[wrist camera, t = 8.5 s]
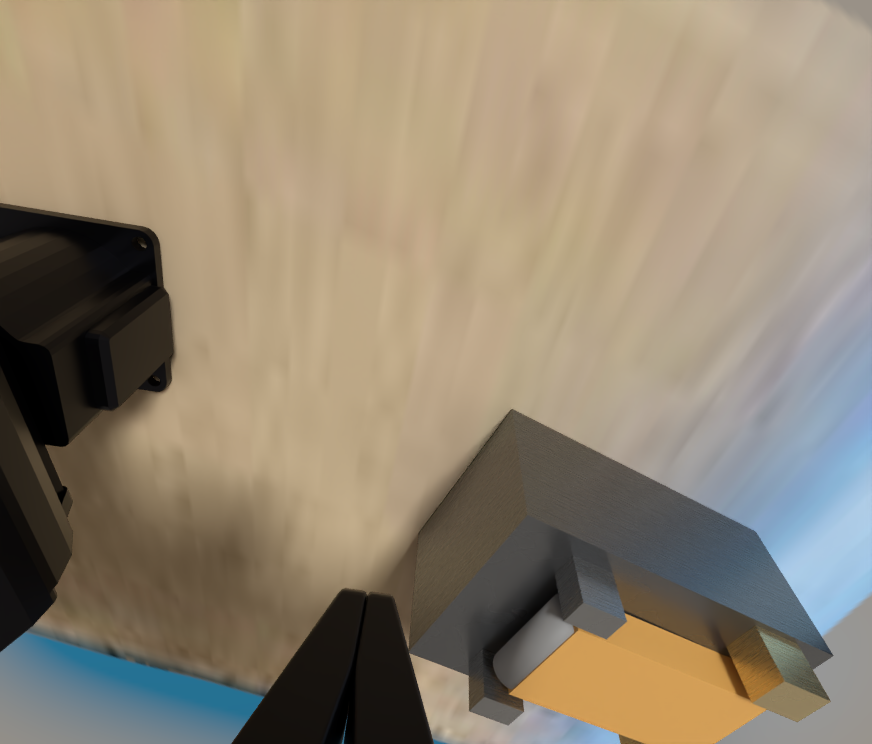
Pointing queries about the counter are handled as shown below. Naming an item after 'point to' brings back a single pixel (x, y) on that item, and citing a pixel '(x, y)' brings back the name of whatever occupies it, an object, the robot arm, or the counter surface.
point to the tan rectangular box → (626, 679)
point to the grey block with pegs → (599, 571)
